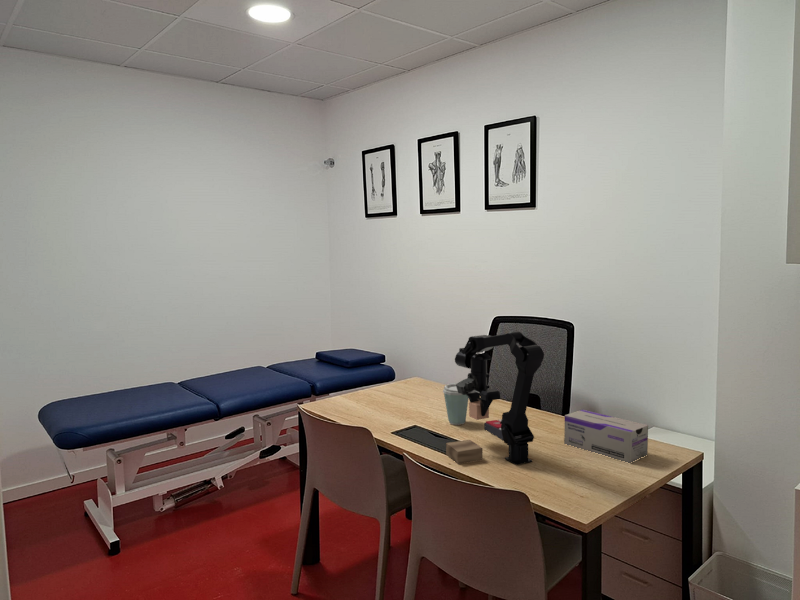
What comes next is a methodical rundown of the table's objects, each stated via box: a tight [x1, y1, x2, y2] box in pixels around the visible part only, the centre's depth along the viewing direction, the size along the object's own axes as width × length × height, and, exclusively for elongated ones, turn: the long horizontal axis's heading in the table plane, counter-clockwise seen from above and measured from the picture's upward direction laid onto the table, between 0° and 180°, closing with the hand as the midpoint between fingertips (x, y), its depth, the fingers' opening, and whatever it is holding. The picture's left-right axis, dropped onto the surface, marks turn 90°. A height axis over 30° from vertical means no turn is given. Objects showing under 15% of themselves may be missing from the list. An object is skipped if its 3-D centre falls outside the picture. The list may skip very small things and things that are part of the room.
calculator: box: [483, 418, 521, 442], centre depth 221 cm, size 11×4×15 cm
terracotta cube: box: [468, 401, 490, 421], centre depth 208 cm, size 5×5×5 cm
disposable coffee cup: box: [442, 383, 469, 426], centre depth 234 cm, size 11×11×15 cm
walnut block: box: [445, 439, 484, 465], centre depth 196 cm, size 9×9×4 cm
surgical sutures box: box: [563, 409, 649, 464], centre depth 201 cm, size 25×11×11 cm, turn 39°
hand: (478, 414), depth 209 cm, fingers closed on terracotta cube, 5 cm apart
